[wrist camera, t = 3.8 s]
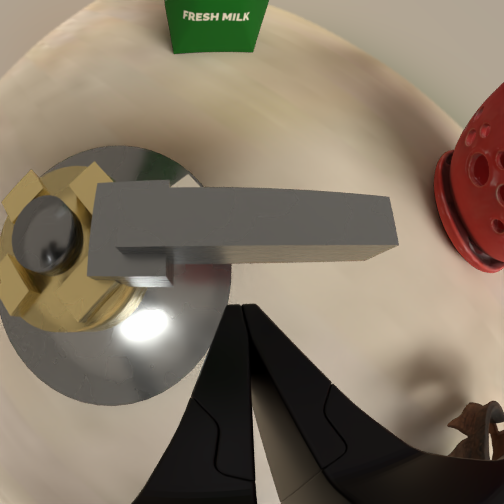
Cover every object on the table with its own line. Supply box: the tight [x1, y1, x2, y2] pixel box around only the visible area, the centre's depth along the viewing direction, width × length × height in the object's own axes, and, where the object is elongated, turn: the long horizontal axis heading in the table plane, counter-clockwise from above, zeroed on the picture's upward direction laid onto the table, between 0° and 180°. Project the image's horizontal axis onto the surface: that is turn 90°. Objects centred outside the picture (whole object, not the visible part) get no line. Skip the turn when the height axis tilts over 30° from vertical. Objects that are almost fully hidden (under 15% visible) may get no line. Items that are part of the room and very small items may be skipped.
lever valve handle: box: [0, 161, 399, 332], centre depth 11 cm, size 16×7×6 cm, turn 92°
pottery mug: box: [447, 401, 504, 460], centre depth 12 cm, size 12×10×8 cm
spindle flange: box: [0, 146, 231, 406], centre depth 11 cm, size 15×15×7 cm
